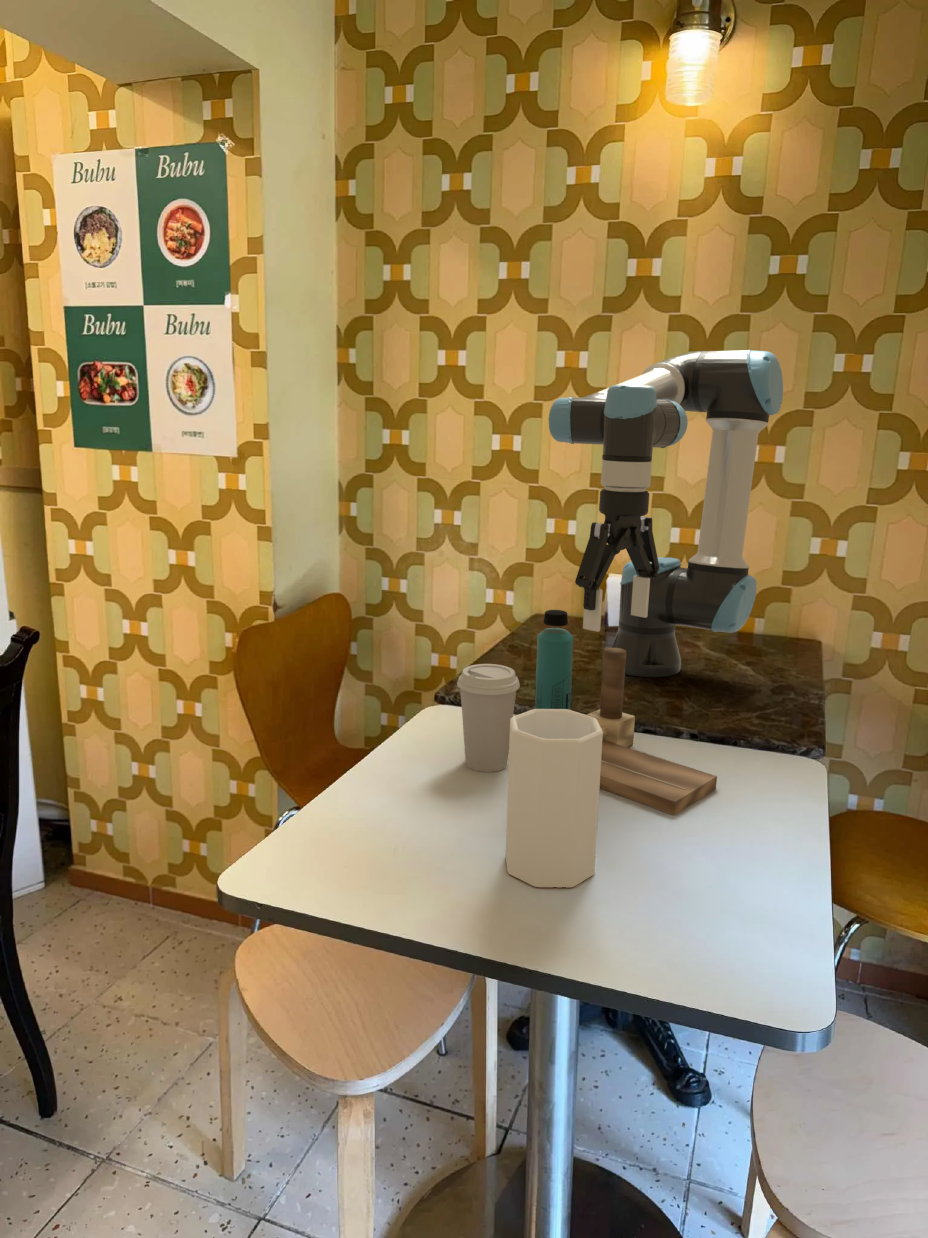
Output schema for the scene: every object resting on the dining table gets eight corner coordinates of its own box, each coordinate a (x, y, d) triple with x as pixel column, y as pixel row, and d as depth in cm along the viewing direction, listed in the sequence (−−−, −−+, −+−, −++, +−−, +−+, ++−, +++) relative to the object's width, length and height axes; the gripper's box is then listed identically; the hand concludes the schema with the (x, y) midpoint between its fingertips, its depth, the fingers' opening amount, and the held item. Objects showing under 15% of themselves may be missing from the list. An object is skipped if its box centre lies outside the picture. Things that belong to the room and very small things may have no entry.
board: (572, 741, 150) (572, 729, 149) (715, 788, 133) (717, 775, 132) (526, 761, 141) (527, 749, 140) (674, 815, 124) (675, 801, 123)
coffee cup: (446, 756, 142) (447, 665, 139) (500, 748, 146) (503, 659, 142) (470, 780, 134) (472, 684, 130) (527, 770, 138) (531, 677, 134)
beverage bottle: (569, 729, 155) (574, 616, 150) (530, 726, 156) (535, 614, 151) (572, 717, 161) (577, 608, 156) (535, 713, 162) (539, 605, 157)
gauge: (602, 735, 153) (608, 644, 149) (633, 744, 149) (639, 651, 145) (548, 760, 142) (552, 662, 138) (579, 771, 138) (585, 671, 134)
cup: (529, 898, 103) (536, 747, 98) (488, 853, 113) (492, 714, 108) (612, 879, 107) (622, 733, 103) (566, 837, 117) (573, 703, 113)
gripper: (646, 482, 150) (637, 606, 155) (556, 491, 132) (549, 631, 137) (687, 486, 145) (676, 614, 150) (599, 495, 127) (590, 641, 132)
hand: (616, 622), depth 143 cm, fingers open, 13 cm apart
